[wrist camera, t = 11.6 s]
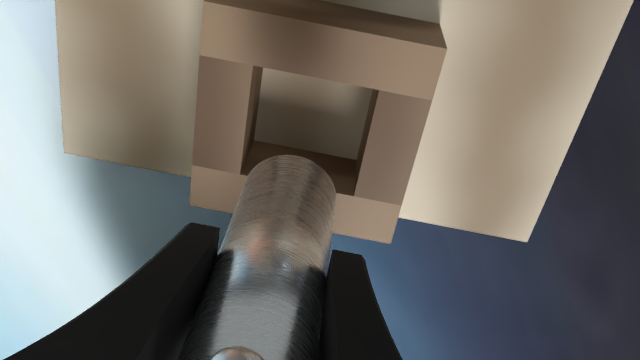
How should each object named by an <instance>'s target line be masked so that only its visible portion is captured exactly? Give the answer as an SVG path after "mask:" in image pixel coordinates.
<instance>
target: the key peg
mask: <svg viewBox="0 0 640 360" xmlns="http://www.w3.org/2000/svg"><path fill="white" fill-rule="evenodd" d="M335 206H336V190H335V187H334V184H333V182H332V180H331V178H330V176H329V175H328V174H327V173H326V171H325V170H324V169H323V168H321V167H320V166H319V165H318V164H316V163H315V162H313V161H311V160H309V159H306V158H304V157H300V156H295V155H278V156H273V157H270V158H267V159H265V160H263V161H261V162H260V163H259V164H257V165H256V166H255V167H254V168H253V169H252V170H251V172H250V173H249V175H248V177H247V179H246V181H245V184H244V187H243V189H242V192H241V195H240V197H239V200H238V202H237V205H236V208H235V210H234V213H233V216H232V218H231V221H230V223H229V226H228V229H227V231H226V234H225V237H224V239H223V242H222V244H221V247H220V250H219V252H218V255H217V258H216V260H215V263H214V265H213V268H212V271H211V273H210V276H209V279H208V281H207V284H206V286H205V289H204V292H203V294H202V297H201V299H200V302H199V305H198V307H197V310H196V313H195V315H194V318H193V320H192V323H191V326H190V328H189V331H188V334H187V336H186V339H185V341H184V344H183V347H182V349H181V352H180V355H179V357H178V360H317V357H318V348H319V340H320V331H321V323H322V309H323V301H324V293H325V284H326V277H327V272H328V265H329V256H330V248H331V239H332V231H333V223H334V214H335Z"/></svg>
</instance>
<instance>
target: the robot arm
mask: <svg viewBox="0 0 640 360" xmlns="http://www.w3.org/2000/svg"><path fill="white" fill-rule="evenodd" d="M219 230H220V228H217V227H212V226H207V225H202V224H196V223H190V224H188V225H186V226H185V227H184V228H183V229H182V230H181V231H180V232H179V233H178V234H177V235H176V236H175V237H174V238H173V239H172V240H171V241H170V242H169V243H168V244H167V245H166V246H165V247H164V248H163V249H161V250H160V251H159V252H158V253H157V254H156V255H155V256H154V257H153V258H152V259H150V260H149V261H148V262H147V263H146V264H145V265H143V266H142V267H141V268H140V269H139V270H138V271H136V272H135V273H134V274H133V275H132V276H131V277H129V278H128V279H127V280H126V281H125V282H123V283H122V284H121V285H119V286H118V287H117V288H115V289H114V290H113V291H112V292H110V293H109V294H108V295H106V296H105V297H104V298H102V299H101V300H100V301H98V302H97V303H96V304H94V305H93V306H92V307H90V308H89V309H87V310H86V311H84V312H83V313H82V314H80V315H79V316H77V317H76V318H74V319H73V320H71V321H69V322H68V323H66V324H65V325H63V326H62V327H60V328H58V329H57V330H55V331H54V332H52V333H50V334H49V335H47V336H45V337H43V338H42V339H40V340H38V341H36V342H35V343H33V344H31V345H29V346H28V347H26V348H24V349H22V350H21V351H19V352H17V353H15V354H13V355H11V356H9V357H8V358H6V359H4V360H178V357H179V355H180V352H181V349H182V347H183V344H184V341H185V339H186V336H187V334H188V331H189V328H190V326H191V323H192V320H193V318H194V315H195V313H196V310H197V307H198V305H199V302H200V299H201V297H202V294H203V292H204V289H205V286H206V284H207V281H208V279H209V276H210V273H211V271H212V268H213V265H214V263H215V260H216V258H217V250H218V240H219ZM317 360H402V358H401V356H400V354H399V352H398V350H397V348H396V345H395V343H394V341H393V339H392V337H391V334H390V332H389V330H388V327H387V325H386V322H385V320H384V318H383V315H382V313H381V310H380V308H379V305H378V302H377V300H376V297H375V294H374V291H373V288H372V285H371V282H370V278H369V275H368V271H367V267H366V262H365V259H364V258H363V257H362V255H359V254H354V253H348V252H343V251H338V250H332V255H331V259H330V263H329V268H328V272H327V277H326V284H325V293H324V301H323V309H322V323H321V331H320V340H319V348H318V357H317Z"/></svg>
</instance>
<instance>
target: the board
mask: <svg viewBox="0 0 640 360" xmlns="http://www.w3.org/2000/svg"><path fill="white" fill-rule="evenodd" d="M203 1H204V0H55V9H56V26H57V43H58V61H59V78H60V95H61V112H62V129H63V146H64V153H67V154H72V155H77V156H82V157H88V158H93V159H98V160H103V161H108V162H114V163H119V164H124V165H129V166H134V167H140V168H145V169H150V170H155V171H160V172H166V173H171V174H176V175H181V176H186V177H191V171H192V157H193V142H194V128H195V113H196V99H197V85H198V70H199V56H200V41H201V27H202V12H203ZM321 1H326V2H331V3H336V4H341V5H346V6H352V7H357V8H362V9H367V10H372V11H377V12H382V13H387V14H392V15H397V16H402V17H407V18H412V19H418V20H423V21H428V22H433V23H438V24H440V26H441V29H442V33H443V36H444V39H445V43H446V46H447V52H446V55H445V59H444V62H443V66H442V69H441V72H440V76H439V79H438V83H437V86H436V90H435V93H434V96H433V100H432V103H431V107H430V110H429V114H428V117H427V120H426V124H425V127H424V131H423V134H422V138H421V141H420V144H419V148H418V151H417V155H416V158H415V162H414V165H413V168H412V172H411V175H410V179H409V182H408V185H407V189H406V192H405V196H404V199H403V203H402V206H401V209H400V213H399V216H398V217H399V218H404V219H409V220H415V221H420V222H425V223H430V224H435V225H441V226H446V227H451V228H456V229H461V230H466V231H472V232H477V233H482V234H487V235H492V236H498V237H503V238H508V239H513V240H518V241H524V242H527V241H528V239H529V237H530V235H531V232H532V230H533V228H534V225H535V223H536V221H537V219H538V216H539V214H540V212H541V210H542V207H543V205H544V203H545V200H546V198H547V196H548V194H549V191H550V189H551V187H552V185H553V182H554V180H555V178H556V175H557V173H558V171H559V169H560V166H561V164H562V162H563V160H564V157H565V155H566V153H567V150H568V148H569V146H570V144H571V141H572V139H573V137H574V135H575V132H576V130H577V128H578V125H579V123H580V121H581V119H582V116H583V114H584V112H585V110H586V107H587V105H588V103H589V100H590V98H591V96H592V94H593V91H594V89H595V87H596V85H597V82H598V80H599V78H600V75H601V73H602V71H603V69H604V66H605V64H606V62H607V60H608V57H609V55H610V53H611V50H612V48H613V46H614V44H615V41H616V39H617V37H618V35H619V32H620V30H621V28H622V26H623V23H624V21H625V19H626V16H627V14H628V12H629V10H630V7H631V5H632V3H633V1H634V0H321ZM372 91H373V89H371V88H366V87H361V86H355V85H350V84H345V83H340V82H335V81H330V80H325V79H320V78H315V77H309V76H304V75H299V74H294V73H289V72H284V71H279V70H274V69H268V68H263V73H262V81H261V89H260V96H259V104H258V112H257V120H256V128H255V135H254V140H256V141H261V142H266V143H271V144H276V145H282V146H287V147H292V148H297V149H302V150H307V151H313V152H318V153H323V154H328V155H333V156H338V157H343V158H349V159H354V160H357V156H358V151H359V147H360V143H361V139H362V134H363V130H364V126H365V121H366V117H367V113H368V109H369V104H370V100H371V96H372Z"/></svg>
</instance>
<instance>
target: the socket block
mask: <svg viewBox="0 0 640 360" xmlns="http://www.w3.org/2000/svg"><path fill="white" fill-rule="evenodd" d="M446 52H447V46H446V43H445V39H444V36H443V33H442V29H441V26H440V24H438V23H433V22H428V21H423V20H418V19H412V18H407V17H402V16H397V15H392V14H387V13H382V12H377V11H372V10H367V9H362V8H357V7H352V6H346V5H341V4H336V3H331V2H326V1H321V0H204V1H203V12H202V27H201V41H200V56H199V70H198V85H197V99H196V113H195V128H194V142H193V157H192V171H191V186H190V200H189V205H190V206H196V207H201V208H206V209H211V210H216V211H222V212H227V213H232V214H233V213H234V210H235V208H236V205H237V202H238V200H239V197H240V195H241V192H242V189H243V187H244V184H245V181H246V179H247V177H248V175H249V173H250V172H251V170H252V169H253V168H254V167H255V166H256V165H257V164H259V163H260V162H261V161H263V160H265V159H267V158H270V157H273V156H278V155H295V156H300V157H304V158H306V159H309V160H311V161H313V162H315V163H316V164H318V165H319V166H320V167H321V168H323V169H324V170H325V171H326V173H327V174H328V175H329V176H330V178H331V180H332V182H333V184H334V187H335V190H336V206H335V214H334V223H333V231H332V233H336V234H341V235H347V236H352V237H357V238H362V239H367V240H373V241H378V242H383V243H388V244H391V240H392V237H393V233H394V230H395V227H396V223H397V220H398V216H399V213H400V209H401V206H402V203H403V199H404V196H405V192H406V189H407V185H408V182H409V179H410V175H411V172H412V168H413V165H414V162H415V158H416V155H417V151H418V148H419V144H420V141H421V138H422V134H423V131H424V127H425V124H426V120H427V117H428V114H429V110H430V107H431V103H432V100H433V96H434V93H435V90H436V86H437V83H438V79H439V76H440V72H441V69H442V66H443V62H444V59H445V55H446ZM263 68H268V69H274V70H279V71H284V72H289V73H294V74H299V75H304V76H309V77H315V78H320V79H325V80H330V81H335V82H340V83H345V84H350V85H355V86H361V87H366V88H371V89H373V91H372V96H371V100H370V104H369V109H368V113H367V117H366V121H365V126H364V130H363V134H362V139H361V143H360V147H359V151H358V156H357V160H354V159H349V158H343V157H338V156H333V155H328V154H323V153H318V152H313V151H307V150H302V149H297V148H292V147H287V146H282V145H276V144H271V143H266V142H261V141H256V140H254V135H255V128H256V120H257V112H258V104H259V96H260V89H261V81H262V73H263Z"/></svg>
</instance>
